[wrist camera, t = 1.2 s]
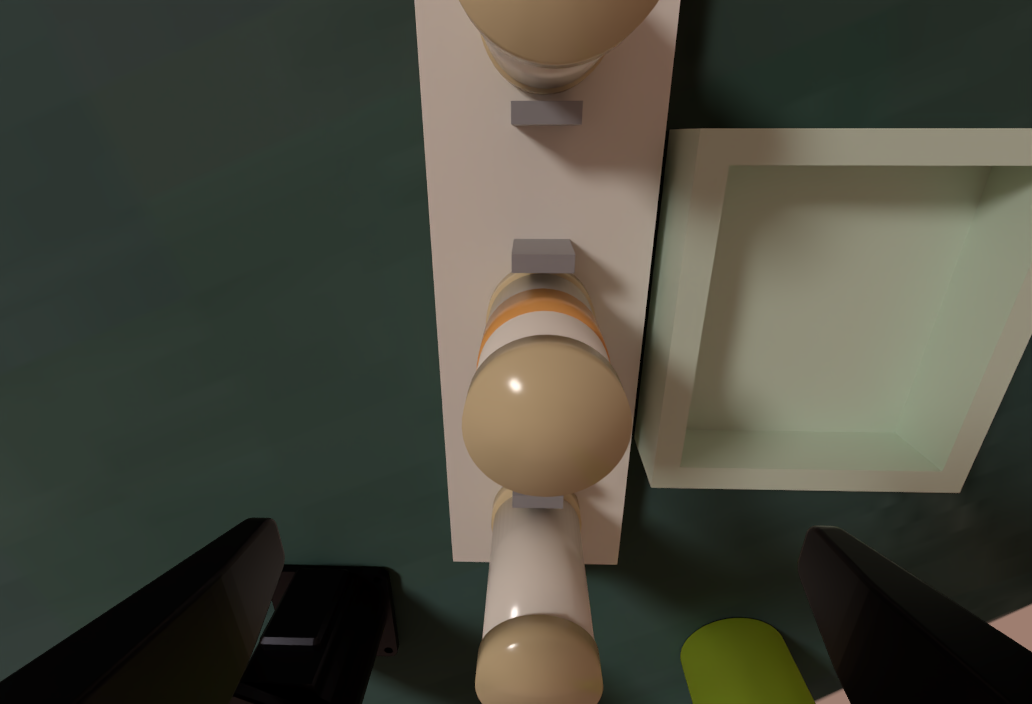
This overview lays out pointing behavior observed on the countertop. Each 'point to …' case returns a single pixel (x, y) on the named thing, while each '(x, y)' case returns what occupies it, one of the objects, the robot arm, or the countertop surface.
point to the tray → (834, 306)
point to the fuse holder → (539, 224)
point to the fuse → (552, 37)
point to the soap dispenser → (741, 665)
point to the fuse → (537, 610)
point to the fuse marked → (544, 390)
